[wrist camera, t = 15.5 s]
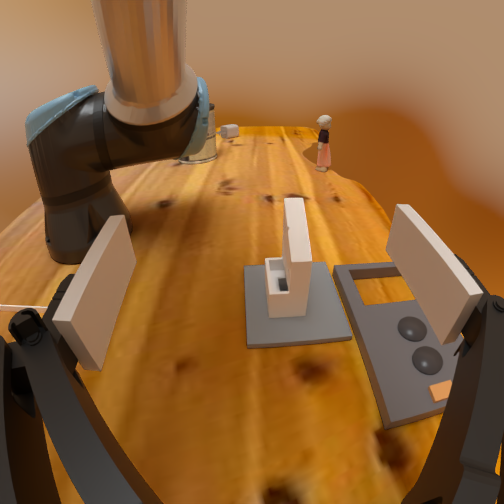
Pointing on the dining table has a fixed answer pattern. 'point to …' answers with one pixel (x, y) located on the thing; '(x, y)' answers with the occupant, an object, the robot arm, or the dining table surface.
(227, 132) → the usb wall charger
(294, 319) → the rubber mat
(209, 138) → the coffee can
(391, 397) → the grey control panel
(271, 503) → the dining table surface
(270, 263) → the white wedge bracket
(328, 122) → the grandmother figurine
